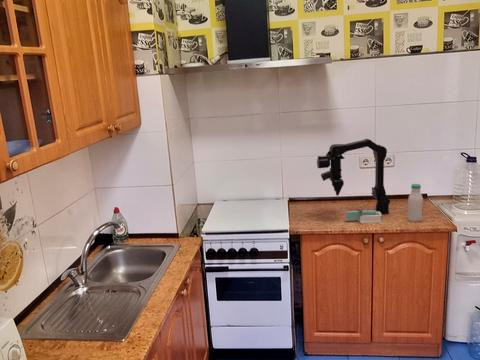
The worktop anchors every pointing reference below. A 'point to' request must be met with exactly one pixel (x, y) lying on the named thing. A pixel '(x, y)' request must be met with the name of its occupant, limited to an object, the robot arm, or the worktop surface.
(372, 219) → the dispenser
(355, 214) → the teal square rod
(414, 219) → the milk bottle
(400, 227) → the worktop surface
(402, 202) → the worktop surface
